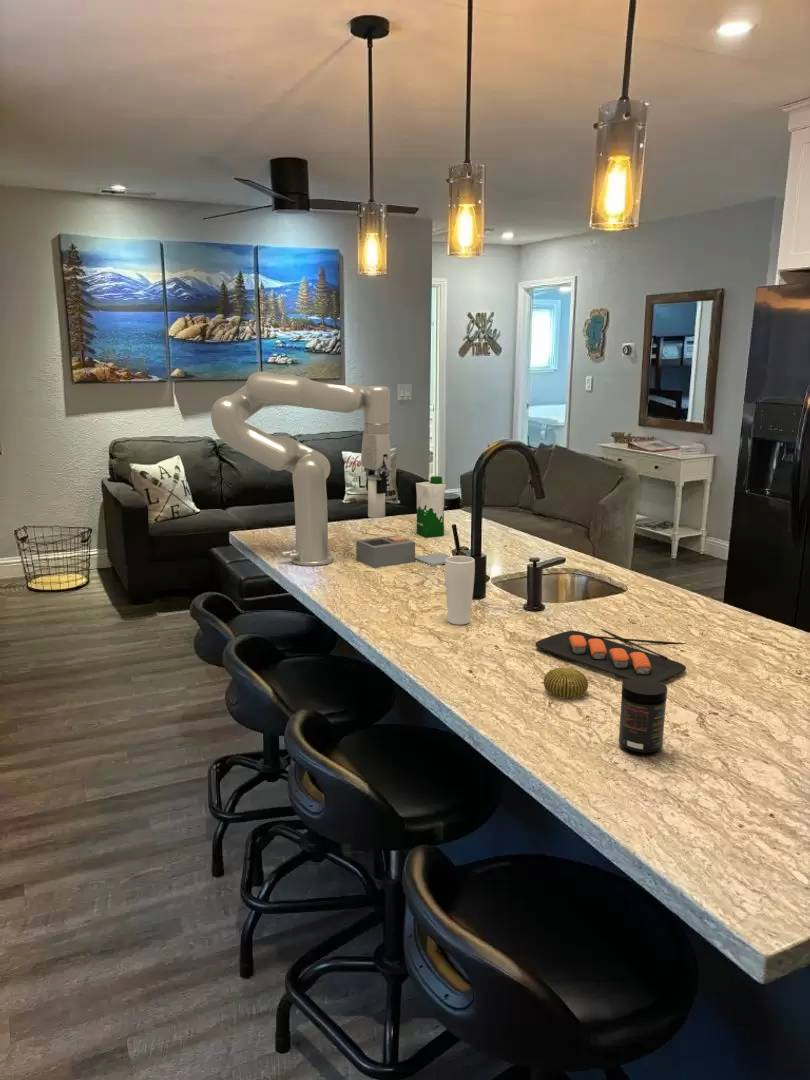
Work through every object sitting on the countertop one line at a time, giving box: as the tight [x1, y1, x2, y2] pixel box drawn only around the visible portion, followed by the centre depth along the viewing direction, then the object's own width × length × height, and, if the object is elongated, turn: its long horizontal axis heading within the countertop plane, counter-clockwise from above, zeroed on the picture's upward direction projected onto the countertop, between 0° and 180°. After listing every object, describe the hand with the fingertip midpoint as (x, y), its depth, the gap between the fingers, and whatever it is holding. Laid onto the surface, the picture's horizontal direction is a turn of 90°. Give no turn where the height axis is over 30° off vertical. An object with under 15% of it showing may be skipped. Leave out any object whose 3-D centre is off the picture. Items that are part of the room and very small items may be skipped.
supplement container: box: [618, 678, 668, 757], centre depth 125 cm, size 7×7×10 cm
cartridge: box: [367, 474, 386, 519], centre depth 236 cm, size 5×5×12 cm
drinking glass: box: [444, 555, 476, 626], centre depth 185 cm, size 7×7×15 cm
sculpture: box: [543, 667, 589, 700], centre depth 147 cm, size 8×4×8 cm
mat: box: [415, 552, 451, 567], centre depth 241 cm, size 10×10×1 cm
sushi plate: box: [534, 628, 687, 683], centre depth 168 cm, size 29×30×4 cm
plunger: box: [387, 535, 407, 542], centre depth 243 cm, size 4×4×5 cm
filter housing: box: [355, 534, 416, 569], centre depth 241 cm, size 14×11×6 cm
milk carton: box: [415, 475, 447, 539], centre depth 274 cm, size 9×9×20 cm
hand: (376, 491), depth 235 cm, fingers closed on cartridge, 5 cm apart
